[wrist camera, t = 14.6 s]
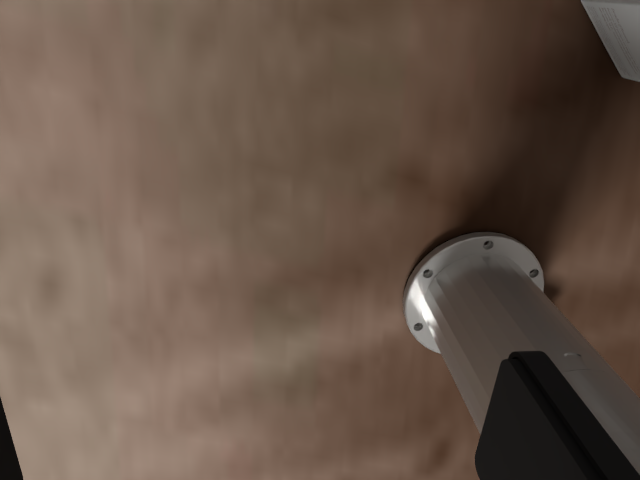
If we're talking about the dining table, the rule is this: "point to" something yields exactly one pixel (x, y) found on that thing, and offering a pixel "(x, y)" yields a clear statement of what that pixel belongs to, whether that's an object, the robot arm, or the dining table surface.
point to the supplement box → (618, 32)
